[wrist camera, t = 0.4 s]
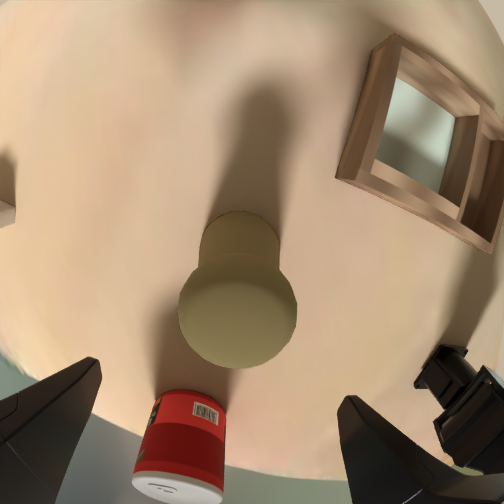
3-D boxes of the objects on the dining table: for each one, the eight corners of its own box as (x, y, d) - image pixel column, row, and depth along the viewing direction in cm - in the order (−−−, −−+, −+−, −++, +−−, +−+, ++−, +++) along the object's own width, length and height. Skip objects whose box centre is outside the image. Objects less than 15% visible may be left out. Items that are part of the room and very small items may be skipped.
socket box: (491, 138, 18) (517, 138, 14) (465, 242, 21) (491, 254, 17) (372, 50, 16) (394, 32, 12) (334, 177, 19) (355, 180, 15)
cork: (203, 206, 20) (158, 249, 9) (285, 216, 20) (330, 268, 10) (197, 283, 21) (163, 379, 11) (273, 291, 22) (296, 391, 11)
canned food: (146, 385, 25) (117, 469, 14) (221, 387, 25) (215, 482, 14) (165, 427, 27) (148, 501, 16) (230, 430, 27) (228, 509, 16)
